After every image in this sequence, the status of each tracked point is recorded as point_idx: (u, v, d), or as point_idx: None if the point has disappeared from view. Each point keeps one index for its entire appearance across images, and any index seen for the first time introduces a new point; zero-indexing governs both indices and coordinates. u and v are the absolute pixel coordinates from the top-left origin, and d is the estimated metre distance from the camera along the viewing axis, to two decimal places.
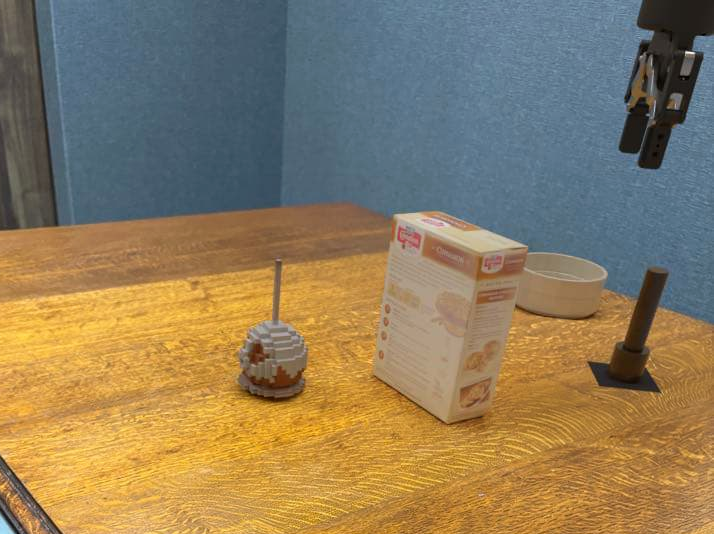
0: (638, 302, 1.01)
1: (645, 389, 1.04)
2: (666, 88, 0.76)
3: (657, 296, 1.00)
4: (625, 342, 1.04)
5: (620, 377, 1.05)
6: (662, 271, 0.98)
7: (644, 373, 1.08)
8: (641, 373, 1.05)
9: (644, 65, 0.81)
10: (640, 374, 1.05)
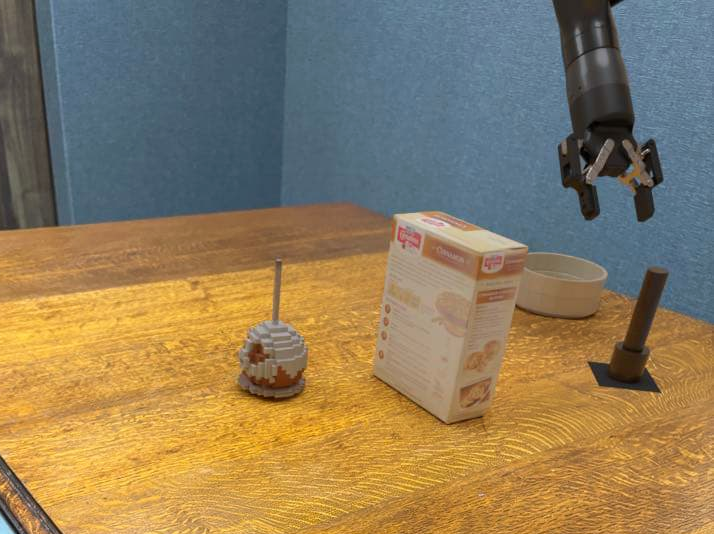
0: (638, 302, 1.01)
1: (645, 389, 1.04)
2: None
3: (657, 296, 1.00)
4: (625, 342, 1.04)
5: (620, 377, 1.05)
6: (662, 271, 0.98)
7: (644, 373, 1.08)
8: (641, 373, 1.05)
9: None
10: (640, 374, 1.05)
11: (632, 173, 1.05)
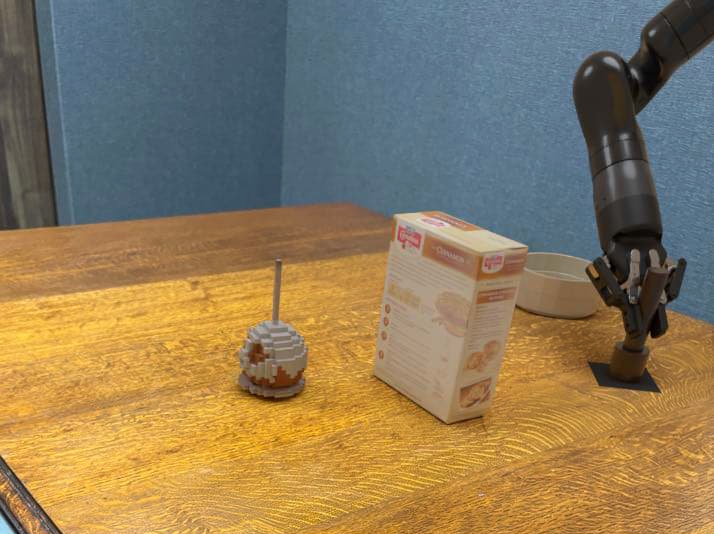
0: (638, 302, 1.01)
1: (645, 389, 1.04)
2: None
3: (657, 296, 1.00)
4: (625, 342, 1.04)
5: (620, 377, 1.05)
6: (662, 271, 0.98)
7: (644, 373, 1.08)
8: (641, 373, 1.05)
9: None
10: (640, 374, 1.05)
11: None
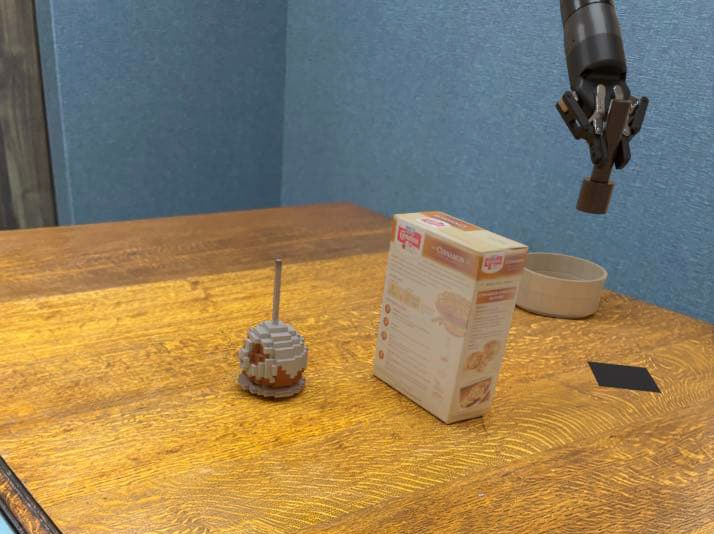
0: (603, 133, 1.10)
1: (645, 389, 1.04)
2: None
3: (620, 126, 1.09)
4: (592, 174, 1.13)
5: (587, 208, 1.14)
6: (625, 101, 1.08)
7: (644, 373, 1.08)
8: (607, 204, 1.14)
9: None
10: (606, 205, 1.14)
11: None
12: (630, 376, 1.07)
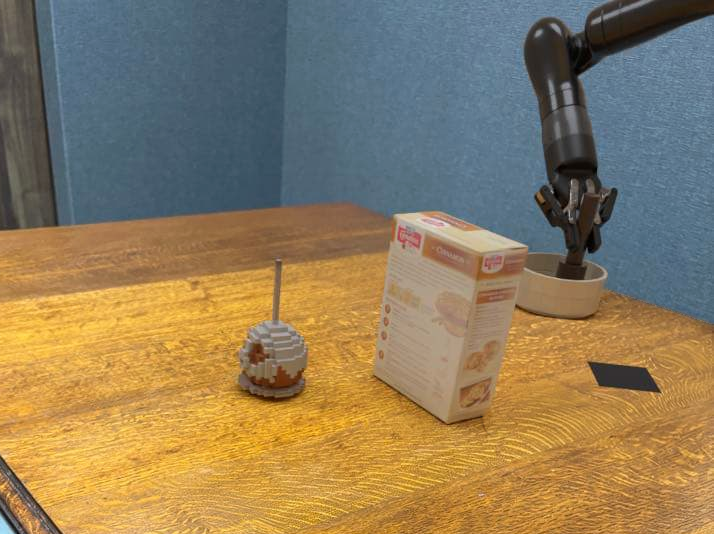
0: (576, 222, 1.23)
1: (645, 389, 1.04)
2: None
3: (591, 217, 1.22)
4: (567, 257, 1.26)
5: None
6: (595, 195, 1.21)
7: (644, 373, 1.08)
8: None
9: None
10: None
11: None
12: (630, 376, 1.07)
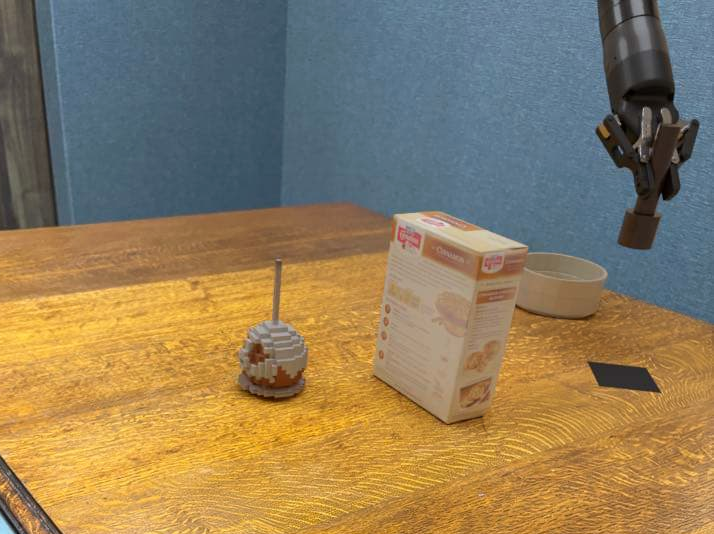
0: (649, 161, 0.99)
1: (645, 389, 1.04)
2: None
3: (669, 153, 0.97)
4: (636, 206, 1.02)
5: (631, 243, 1.03)
6: (674, 125, 0.96)
7: (644, 373, 1.08)
8: (652, 239, 1.03)
9: None
10: (651, 240, 1.03)
11: None
12: (630, 376, 1.07)
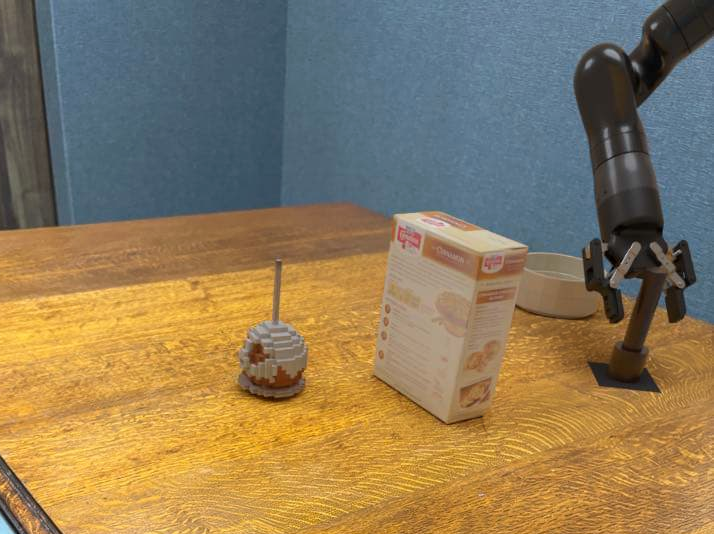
0: (637, 302, 1.01)
1: (645, 389, 1.04)
2: None
3: (656, 296, 1.00)
4: (624, 342, 1.04)
5: (619, 377, 1.05)
6: (661, 271, 0.99)
7: (644, 373, 1.08)
8: (640, 373, 1.05)
9: None
10: (639, 374, 1.05)
11: None
12: None
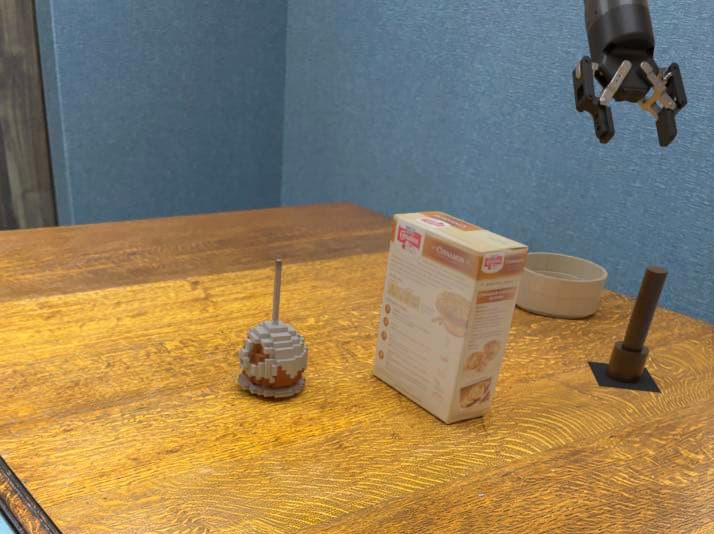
0: (637, 302, 1.01)
1: (645, 389, 1.04)
2: None
3: (656, 296, 1.00)
4: (624, 342, 1.04)
5: (619, 377, 1.05)
6: (661, 271, 0.99)
7: (644, 373, 1.08)
8: (640, 373, 1.05)
9: None
10: (639, 374, 1.05)
11: (653, 96, 1.02)
12: None
